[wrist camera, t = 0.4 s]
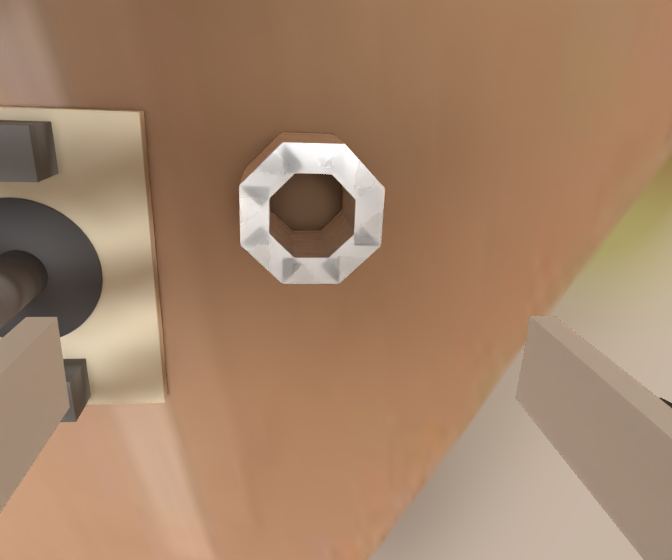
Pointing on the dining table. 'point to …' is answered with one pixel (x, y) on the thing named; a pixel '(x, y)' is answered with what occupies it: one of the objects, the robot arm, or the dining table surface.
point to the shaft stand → (83, 247)
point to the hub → (310, 245)
